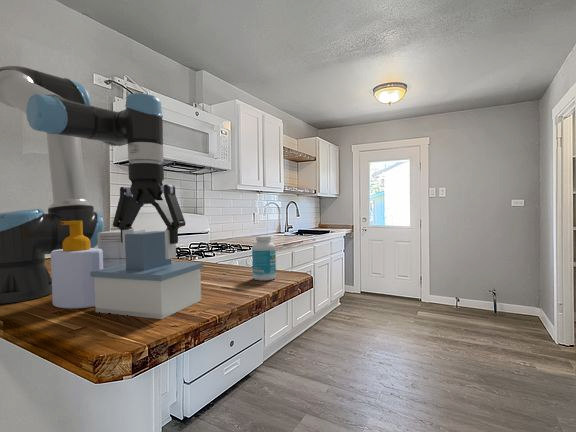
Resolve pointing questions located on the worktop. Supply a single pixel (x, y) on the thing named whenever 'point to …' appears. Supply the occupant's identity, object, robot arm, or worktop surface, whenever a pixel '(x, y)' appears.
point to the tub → (147, 295)
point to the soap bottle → (75, 269)
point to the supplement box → (112, 247)
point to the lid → (146, 260)
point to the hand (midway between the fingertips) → (149, 257)
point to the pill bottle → (264, 259)
